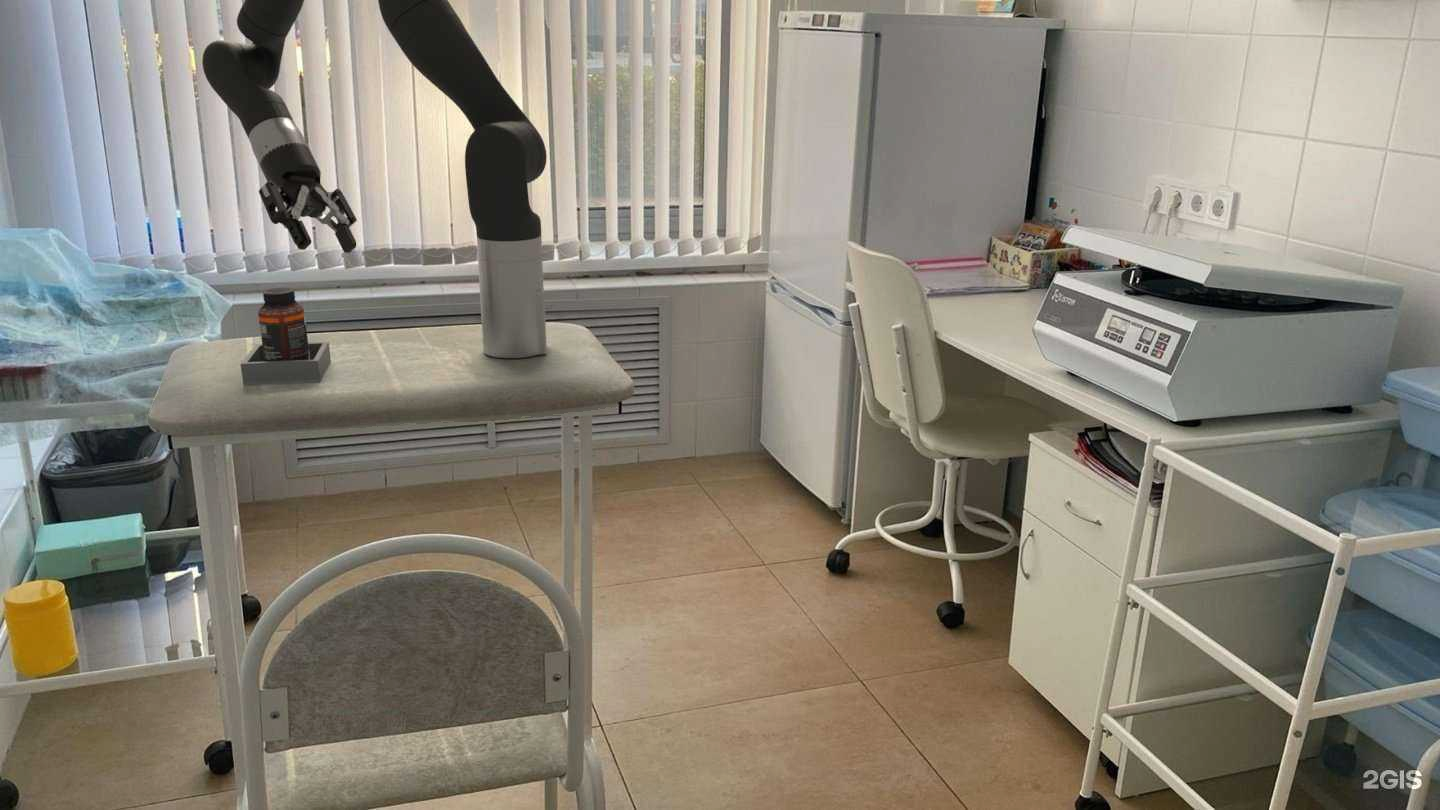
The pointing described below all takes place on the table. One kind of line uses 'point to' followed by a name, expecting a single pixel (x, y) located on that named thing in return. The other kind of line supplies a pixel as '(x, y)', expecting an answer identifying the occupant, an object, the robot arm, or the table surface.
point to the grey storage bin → (286, 367)
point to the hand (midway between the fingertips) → (329, 248)
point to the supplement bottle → (283, 326)
